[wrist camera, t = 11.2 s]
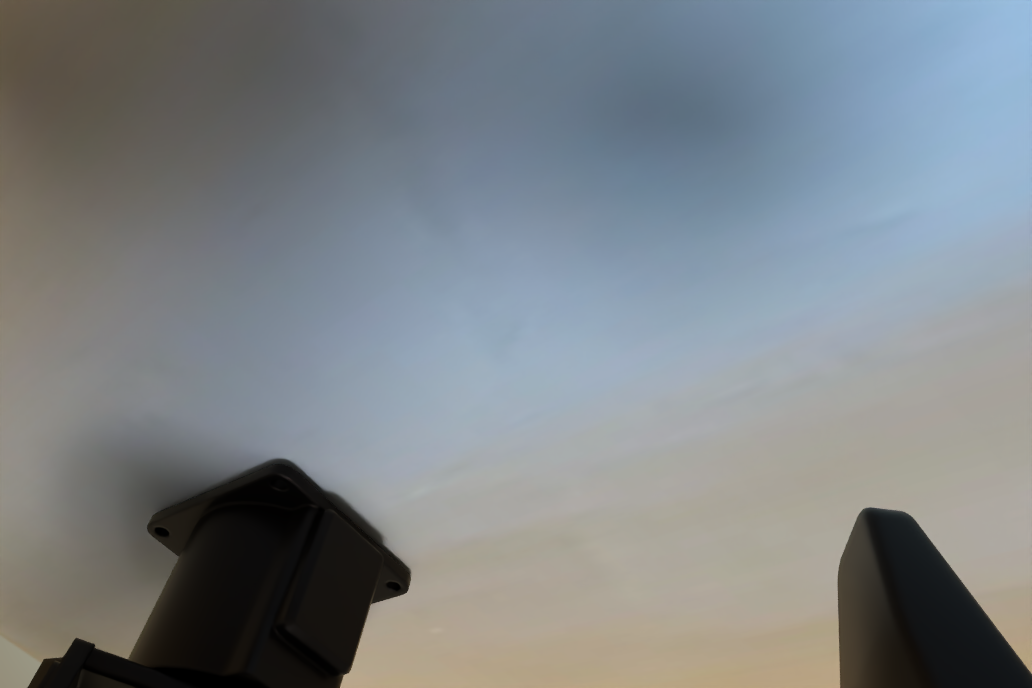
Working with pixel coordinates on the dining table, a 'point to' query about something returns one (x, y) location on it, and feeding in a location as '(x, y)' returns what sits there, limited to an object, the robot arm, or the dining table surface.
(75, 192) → the dining table surface
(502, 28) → the dining table surface
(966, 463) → the dining table surface
